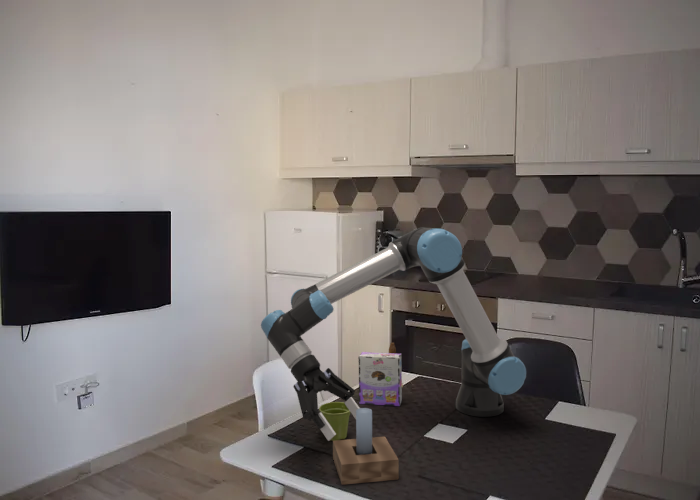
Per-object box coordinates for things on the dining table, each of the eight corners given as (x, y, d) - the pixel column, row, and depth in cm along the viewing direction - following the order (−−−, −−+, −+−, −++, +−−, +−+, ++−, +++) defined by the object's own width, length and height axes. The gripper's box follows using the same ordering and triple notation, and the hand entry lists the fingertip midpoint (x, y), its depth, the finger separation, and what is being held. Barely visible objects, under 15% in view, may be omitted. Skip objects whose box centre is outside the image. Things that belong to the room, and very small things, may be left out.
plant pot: (348, 445, 163) (348, 414, 162) (315, 442, 165) (315, 412, 164) (355, 431, 172) (355, 402, 171) (323, 429, 174) (323, 400, 173)
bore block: (384, 454, 157) (384, 436, 156) (398, 479, 143) (398, 459, 143) (333, 459, 154) (332, 440, 154) (341, 484, 140) (341, 464, 140)
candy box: (402, 400, 198) (402, 353, 196) (399, 407, 192) (399, 357, 190) (362, 398, 201) (361, 350, 199) (358, 404, 195) (358, 355, 194)
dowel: (370, 460, 151) (370, 407, 150) (373, 467, 147) (373, 413, 146) (355, 461, 150) (354, 408, 149) (358, 468, 146) (357, 414, 145)
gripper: (321, 359, 169) (365, 420, 162) (262, 382, 149) (309, 453, 142) (336, 343, 166) (381, 405, 159) (277, 364, 145) (327, 437, 138)
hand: (347, 428), depth 150 cm, fingers open, 13 cm apart
